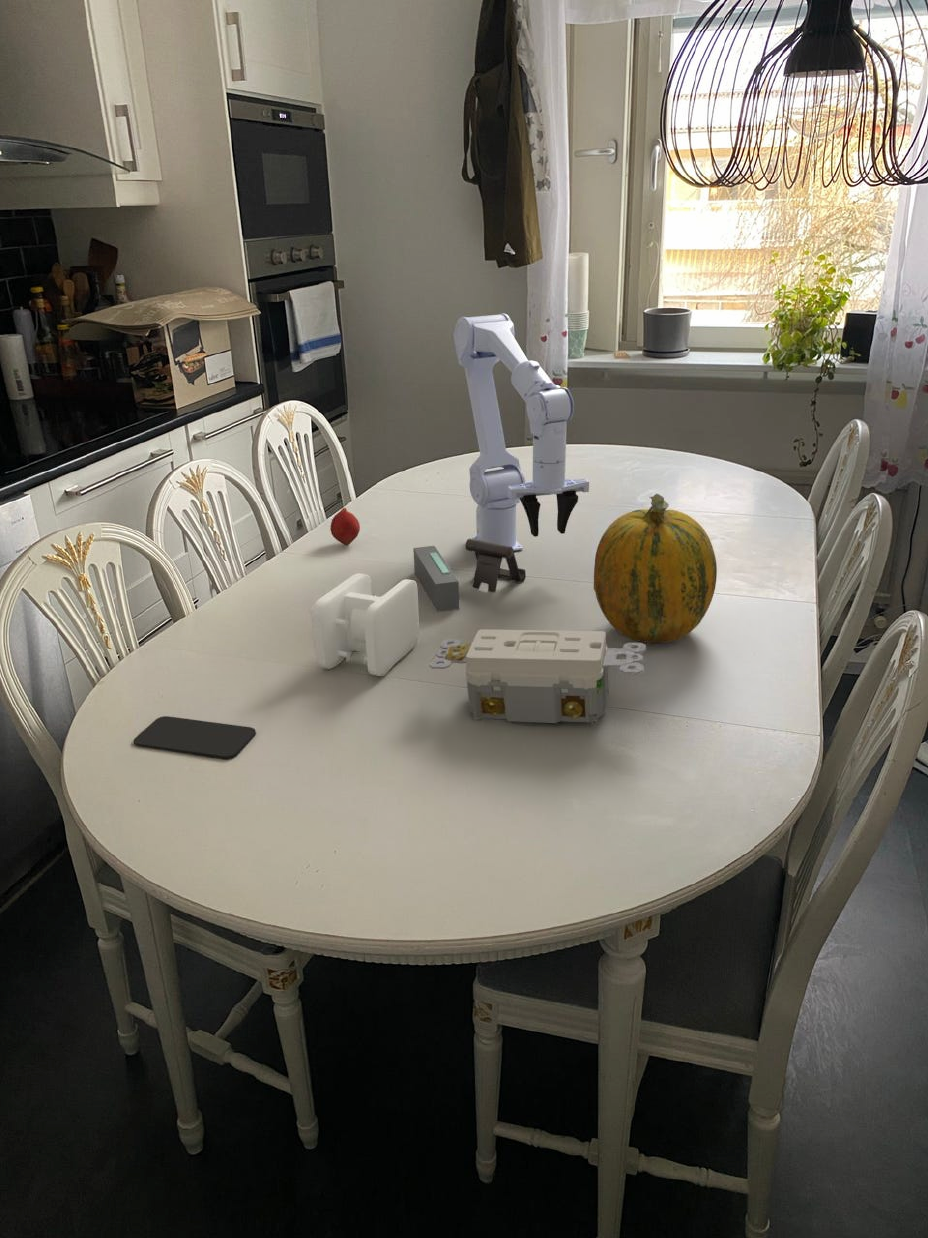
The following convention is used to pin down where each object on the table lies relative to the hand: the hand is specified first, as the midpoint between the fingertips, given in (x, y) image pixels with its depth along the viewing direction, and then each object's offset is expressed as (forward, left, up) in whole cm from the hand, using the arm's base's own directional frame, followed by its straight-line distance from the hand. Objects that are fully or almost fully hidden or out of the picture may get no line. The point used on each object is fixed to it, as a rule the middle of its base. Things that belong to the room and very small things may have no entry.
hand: (547, 533), depth 170 cm
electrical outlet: (+44, -17, -9) cm, 48 cm away
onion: (-28, -33, -9) cm, 44 cm away
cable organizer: (+23, -37, -9) cm, 44 cm away
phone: (+39, -63, -9) cm, 75 cm away
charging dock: (0, -21, -8) cm, 23 cm away
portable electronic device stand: (0, -10, -9) cm, 13 cm away
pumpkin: (+27, +8, -9) cm, 29 cm away
